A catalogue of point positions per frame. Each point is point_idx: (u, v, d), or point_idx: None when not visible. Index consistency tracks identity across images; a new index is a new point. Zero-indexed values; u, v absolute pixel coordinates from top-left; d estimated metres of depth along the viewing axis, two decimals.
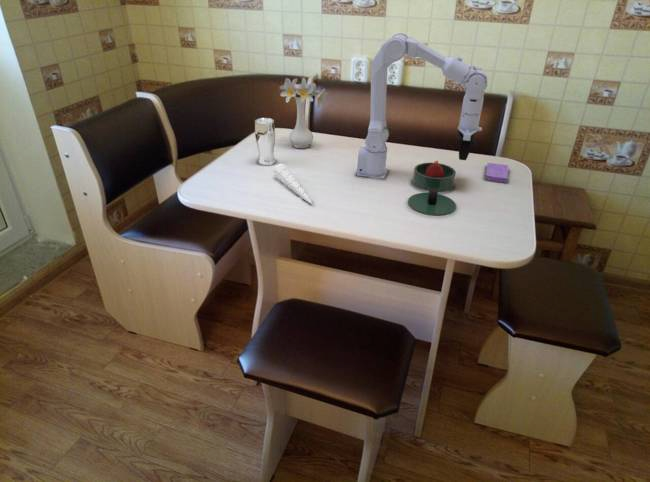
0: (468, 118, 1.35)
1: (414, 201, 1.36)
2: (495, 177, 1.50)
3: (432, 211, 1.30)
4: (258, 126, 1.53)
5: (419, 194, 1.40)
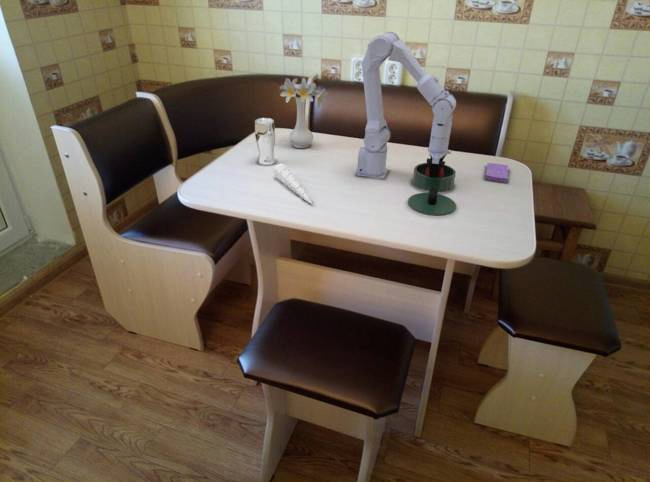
0: (437, 141, 1.38)
1: (414, 201, 1.36)
2: (495, 177, 1.50)
3: (432, 211, 1.30)
4: (258, 126, 1.53)
5: (419, 194, 1.40)
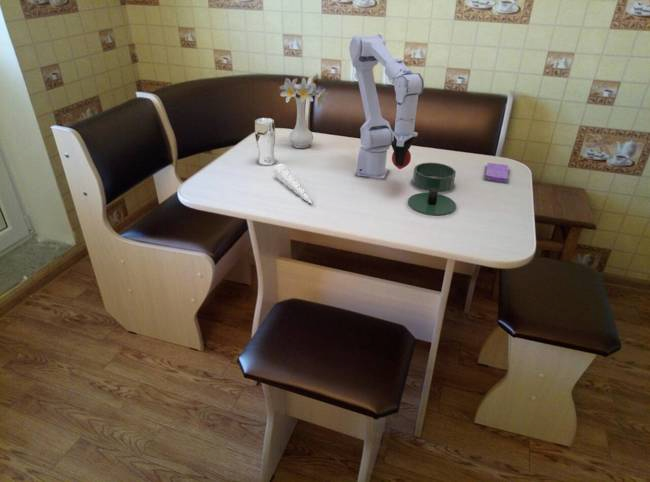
0: (402, 123, 1.30)
1: (414, 201, 1.36)
2: (495, 177, 1.50)
3: (432, 211, 1.30)
4: (258, 126, 1.53)
5: (419, 194, 1.40)
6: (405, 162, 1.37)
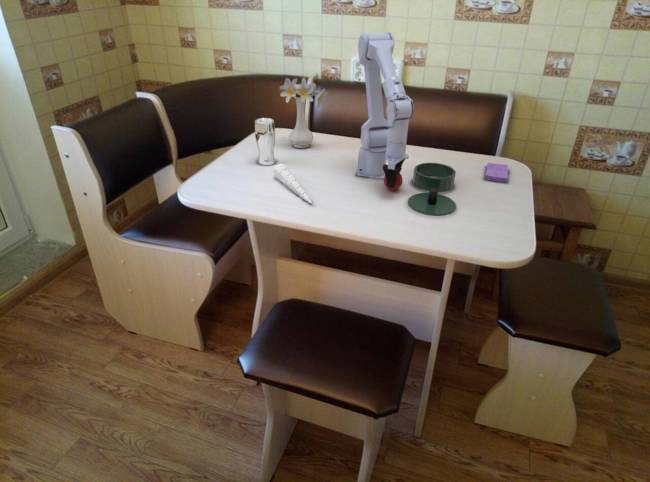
0: (393, 146, 1.33)
1: (414, 201, 1.36)
2: (495, 177, 1.50)
3: (432, 211, 1.30)
4: (258, 126, 1.53)
5: (419, 194, 1.40)
6: (396, 185, 1.40)
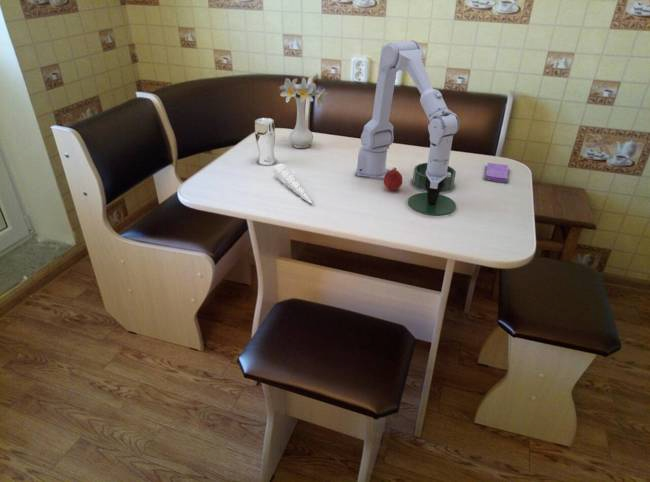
0: (435, 164, 1.26)
1: (414, 201, 1.36)
2: (495, 177, 1.50)
3: (432, 211, 1.30)
4: (258, 126, 1.53)
5: (419, 194, 1.40)
6: (396, 185, 1.40)
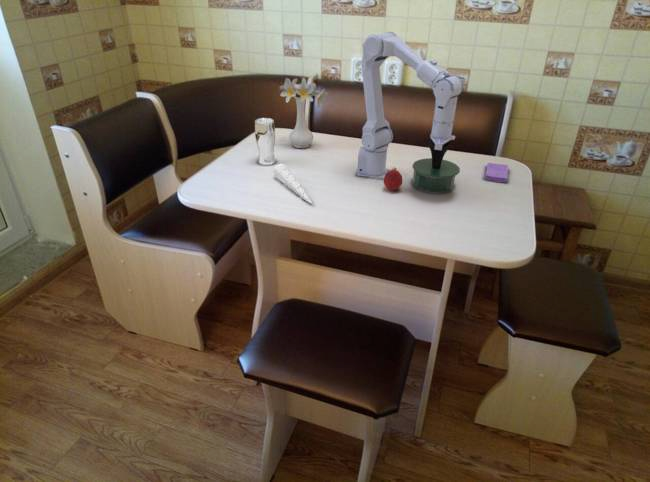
0: (440, 126, 1.28)
1: (419, 165, 1.38)
2: (495, 177, 1.50)
3: (436, 174, 1.33)
4: (258, 126, 1.53)
5: (424, 159, 1.42)
6: (396, 185, 1.40)
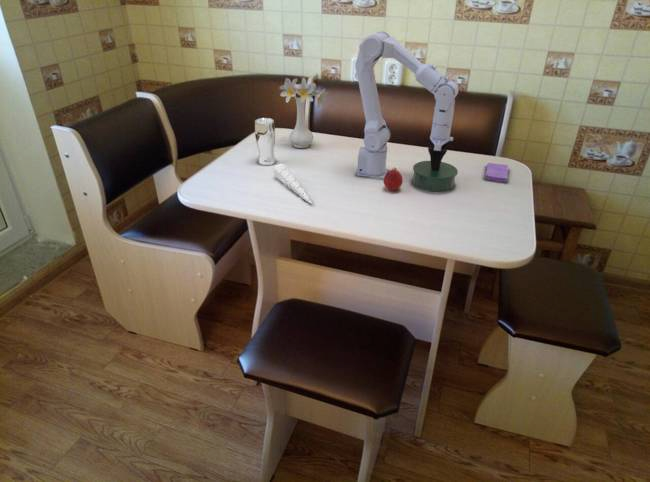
0: (439, 128, 1.36)
1: (419, 167, 1.46)
2: (495, 177, 1.50)
3: (436, 175, 1.41)
4: (258, 126, 1.53)
5: (423, 162, 1.50)
6: (396, 185, 1.40)
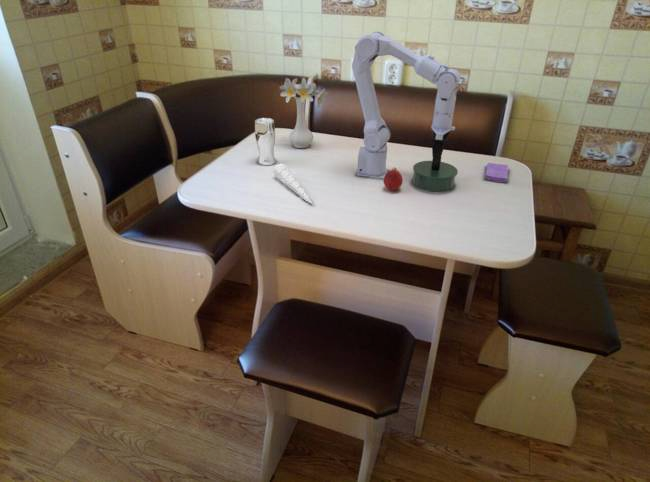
0: (440, 117, 1.34)
1: (419, 167, 1.46)
2: (495, 177, 1.50)
3: (436, 175, 1.41)
4: (258, 126, 1.53)
5: (423, 162, 1.50)
6: (396, 185, 1.40)
